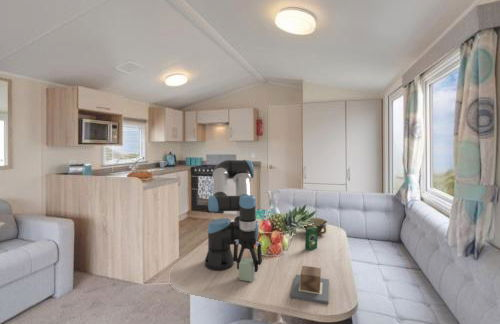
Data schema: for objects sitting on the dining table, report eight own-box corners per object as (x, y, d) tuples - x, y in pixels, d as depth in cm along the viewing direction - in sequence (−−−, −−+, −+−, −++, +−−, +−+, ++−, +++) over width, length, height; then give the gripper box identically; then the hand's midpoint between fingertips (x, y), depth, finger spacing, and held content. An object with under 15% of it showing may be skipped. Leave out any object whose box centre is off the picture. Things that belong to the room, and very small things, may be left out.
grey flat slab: (290, 297, 110) (290, 294, 110) (296, 276, 127) (296, 274, 127) (328, 304, 106) (328, 301, 105) (328, 281, 123) (328, 279, 123)
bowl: (296, 234, 187) (296, 220, 186) (308, 228, 200) (309, 215, 200) (320, 240, 175) (320, 225, 175) (331, 233, 189) (331, 219, 188)
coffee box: (314, 246, 164) (314, 225, 164) (317, 248, 162) (318, 226, 161) (304, 249, 160) (305, 227, 159) (308, 250, 158) (308, 229, 157)
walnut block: (300, 289, 114) (300, 273, 113) (302, 280, 121) (302, 265, 121) (319, 292, 111) (320, 276, 111) (320, 283, 119) (320, 268, 118)
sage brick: (239, 279, 123) (239, 263, 122) (243, 273, 129) (243, 257, 128) (251, 281, 121) (251, 264, 121) (255, 275, 127) (255, 259, 126)
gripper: (225, 229, 122) (225, 277, 124) (265, 233, 117) (265, 284, 119) (231, 224, 129) (231, 270, 131) (269, 228, 124) (268, 276, 126)
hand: (247, 276), depth 125 cm, fingers closed on sage brick, 6 cm apart
